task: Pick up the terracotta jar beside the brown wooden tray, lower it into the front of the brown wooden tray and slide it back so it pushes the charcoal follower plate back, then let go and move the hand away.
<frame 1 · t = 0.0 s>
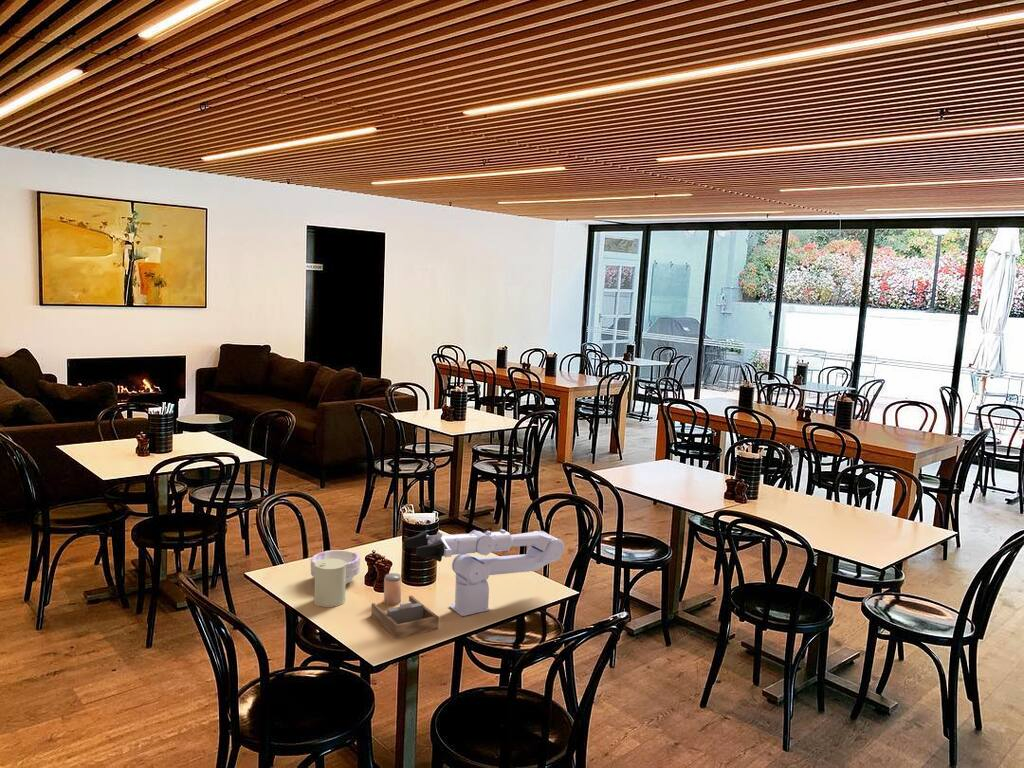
hand: (410, 547, 224), 22 cm above the table, tool horizontal, fingers open, 7 cm apart
brown wooden tray: (403, 621, 227), on the table
jar: (392, 601, 240), on the table
follower: (405, 611, 226), point 3 cm above the table, slide at 0.0 cm
can: (329, 601, 239), on the table
paper bowls: (335, 581, 254), on the table
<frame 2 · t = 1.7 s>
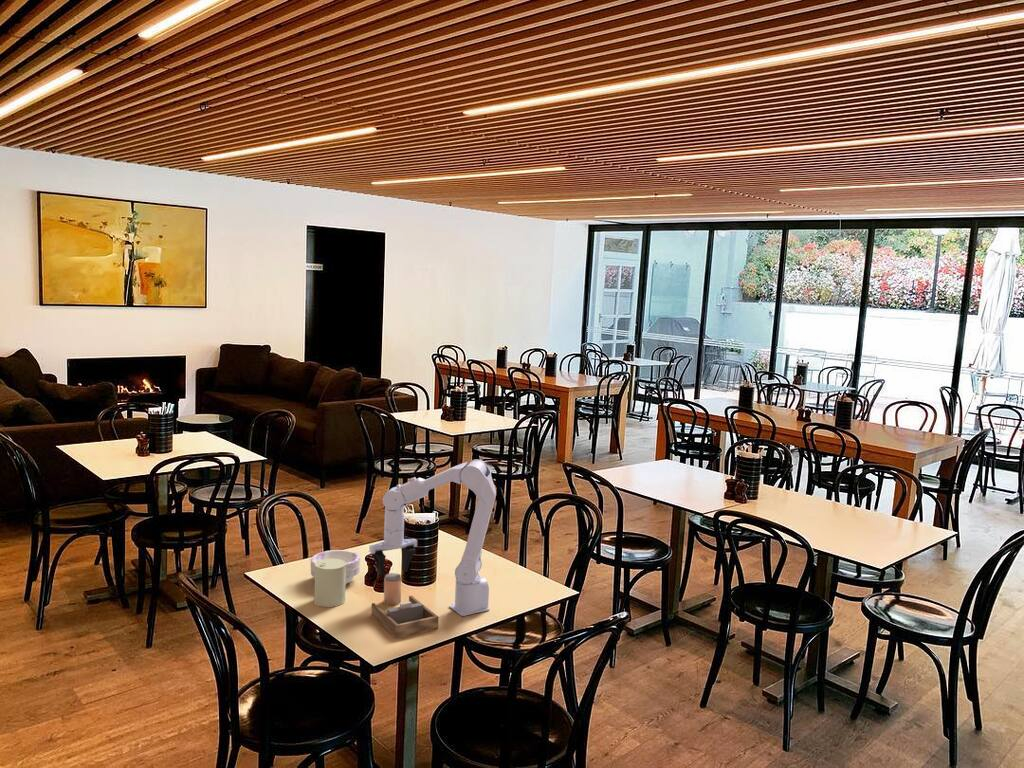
hand: (392, 572, 239), 9 cm above the table, tool pointing down, fingers open, 7 cm apart
nothing on the table moved.
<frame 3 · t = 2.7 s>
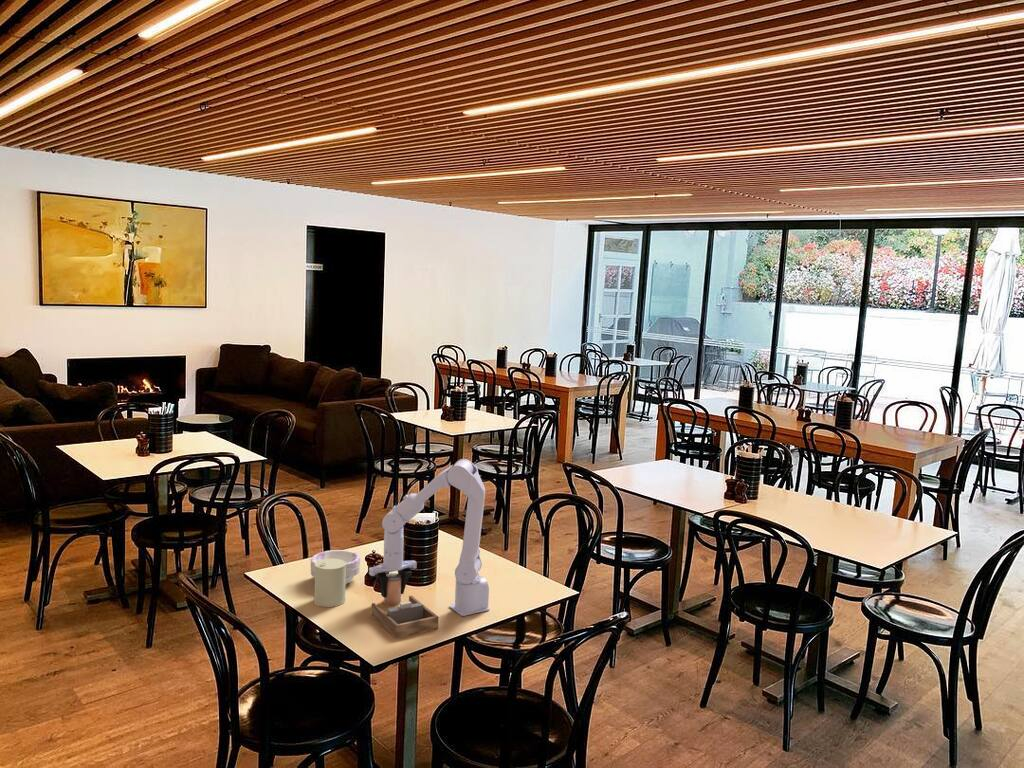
hand: (392, 594, 240), 2 cm above the table, tool pointing down, fingers closed on jar, 5 cm apart
jar: (392, 601, 240), on the table, touching gripper
everything else where it was.
when the fingers open (4 cm above the table, at t = 7.9 s): jar stays where it is, resting on brown wooden tray.
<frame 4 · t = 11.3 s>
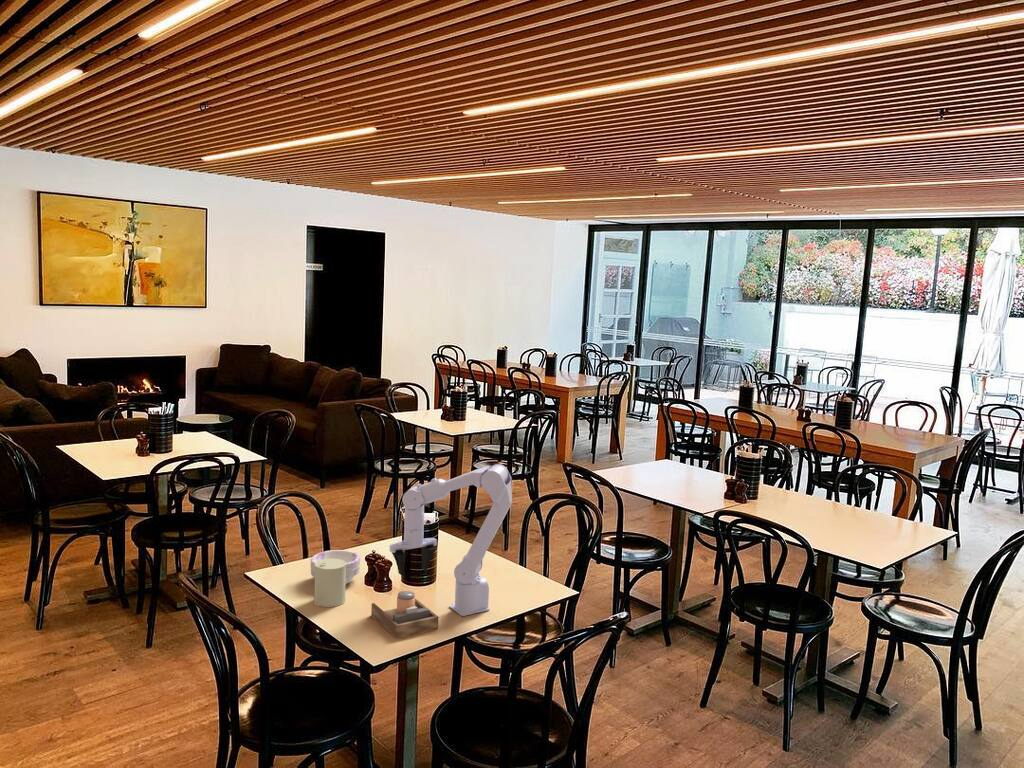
hand: (412, 571, 239), 9 cm above the table, tool pointing down, fingers open, 7 cm apart
jar: (405, 621, 226), resting on brown wooden tray
follower: (411, 616, 223), point 3 cm above the table, slide at 3.8 cm
everything else where it was.
at the end: jar 0.3 cm from the target spot on the brown wooden tray, point 0.5 cm above the brown wooden tray's base; follower slide at 3.8 cm; jar tilted 0° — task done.
